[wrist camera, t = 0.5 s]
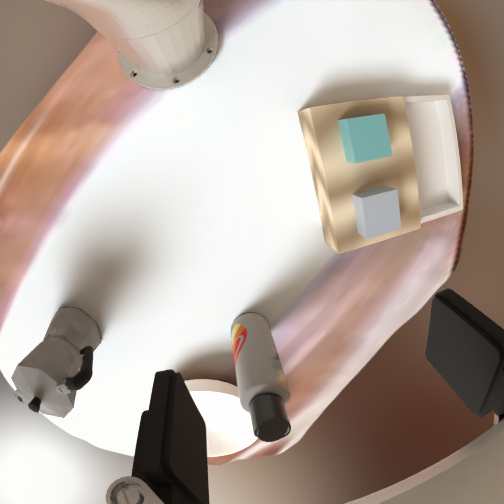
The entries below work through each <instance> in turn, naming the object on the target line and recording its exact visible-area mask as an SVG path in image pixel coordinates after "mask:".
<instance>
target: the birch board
mask: <svg viewBox="0 0 504 504" xmlns="http://www.w3.org/2000/svg"><path fill="white" fill-rule="evenodd" d="M377 114H385V118H386V123H387V128H388V133H389V138H390V144H391V150H392V156H390V157H385V158H380V159H375V160H370V161H365V162H360V163H350V162H346V157H345V152H344V147H343V142H342V138H341V133H340V128H339V124H338V120H342V119H348V118H355V117H362V116H369V115H377ZM298 116H299V120H300V124H301V128H302V132H303V136H304V140H305V144H306V149H307V153H308V157H309V162H310V166H311V171H312V176H313V180H314V185H315V190H316V195H317V200H318V205H319V210H320V215H321V221H322V226H323V232H324V237H325V242H326V243H327V244H328V245H329V246H330V247H331V248H333V249H334V250H335V251H336V252H337V253H338V254H341V253H345V252H348V251H351V250H354V249H358V248H361V247H364V246H367V245H370V244H374V243H377V242H380V241H383V240H386V239H389V238H392V237H395V236H399V235H402V234H405V233H408V232H411V231H414V230H417V229H420V228H421V222H420V208H419V196H418V186H417V177H416V169H415V161H414V154H413V148H412V141H411V135H410V130H409V124H408V119H407V114H406V109H405V105H404V100H403V96H398V97H386V98H375V99H366V100H357V101H349V102H342V103H335V104H328V105H322V106H316V107H310V108H307V109H304V110H301V111H298ZM384 186H389V187H392V188H395V189H397V191H398V200H399V209H400V220H401V229H398V230H395V231H392V232H389V233H386V234H382V235H379V236H376V237H373V238H369V239H366V238H365V237H363V236H362V235H360V234H359V233H358V229H357V222H356V215H355V208H354V202H353V195H352V194H356V193H360V192H364V191H368V190H372V189H376V188H380V187H384Z"/></svg>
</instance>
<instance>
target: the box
mask: <svg viewBox="0 0 504 504" xmlns="http://www.w3.org/2000/svg"><path fill="white" fill-rule="evenodd" d="M403 100H404V105H405V109H406V114H407V119H408V124H409V130H410V135H411V141H412V148H413V154H414V161H415V169H416V177H417V186H418V196H419V208H420V222H421V223H424V222H427V221H430V220H433V219H436V218H439V217H442V216H445V215H448V214H451V213H454V212H458V211H461V210H463V196H462V179H461V167H460V157H459V148H458V141H457V134H456V127H455V121H454V115H453V110H452V104H451V99H450V95H425V96H407V97H403Z"/></svg>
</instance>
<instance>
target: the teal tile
mask: <svg viewBox="0 0 504 504" xmlns="http://www.w3.org/2000/svg"><path fill="white" fill-rule="evenodd" d="M338 124H339V128H340V133H341V138H342V142H343V147H344V152H345V157H346V162H350V163H360V162H365V161H370V160H375V159H380V158H385V157H390V156H392V150H391V144H390V138H389V133H388V128H387V123H386V118H385V114H377V115H369V116H362V117H355V118H348V119H342V120H338Z"/></svg>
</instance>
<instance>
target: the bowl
mask: <svg viewBox="0 0 504 504" xmlns="http://www.w3.org/2000/svg"><path fill="white" fill-rule="evenodd" d="M184 382H185V384H186V386H187V388H188V390H189V392H190V394H191V396H192V398H193V400H194V402H195V404H196V406H197V408H198V409H199V411H200V413H201V415H202V417H203V419H204V421H205V424H206V436H207V457H215V456H223V455H228V454H232V453H235V452H238V451H240V450H242V449H244V448H246V447H248V446H250V445H251V444H252V443H253V442H255V441H256V439H257V438H258V437H256V436H255V435H254V433H253V428H252V422H251V417H250V413H248V412H246V411H245V410H244V409H243V408H242V406H241V404H240V400H239V393H238V387H237V386H235V385H232V384H230V383H226V382H222V381H218V380H210V379H194V380H187V381H184Z"/></svg>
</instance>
